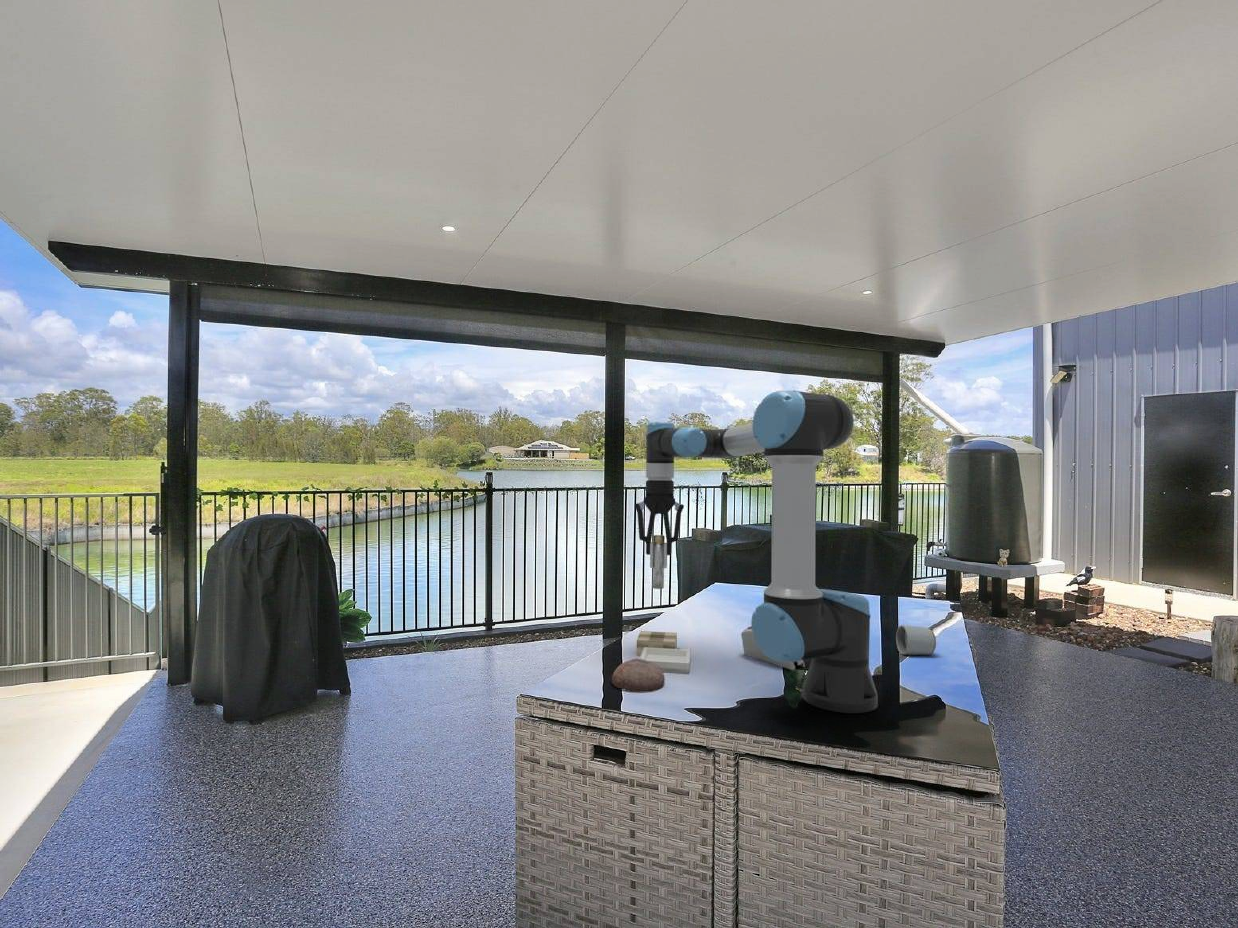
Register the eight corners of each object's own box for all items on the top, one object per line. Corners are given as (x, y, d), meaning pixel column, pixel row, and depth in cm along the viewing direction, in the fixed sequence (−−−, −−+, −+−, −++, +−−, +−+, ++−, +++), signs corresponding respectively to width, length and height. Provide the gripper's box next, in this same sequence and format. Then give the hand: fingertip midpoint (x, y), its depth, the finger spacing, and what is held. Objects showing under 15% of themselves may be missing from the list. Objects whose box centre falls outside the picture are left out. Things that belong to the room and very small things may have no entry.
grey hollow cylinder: (938, 658, 173) (938, 628, 173) (907, 657, 173) (907, 628, 173) (919, 648, 184) (919, 620, 184) (890, 647, 183) (890, 620, 184)
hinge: (806, 666, 163) (797, 630, 161) (793, 676, 160) (784, 639, 159) (757, 651, 177) (748, 617, 175) (745, 659, 174) (736, 625, 173)
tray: (689, 673, 156) (689, 663, 156) (639, 670, 157) (639, 660, 157) (690, 659, 168) (690, 649, 168) (643, 656, 169) (643, 647, 169)
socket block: (674, 657, 169) (675, 642, 169) (636, 655, 171) (636, 640, 171) (676, 647, 179) (676, 632, 179) (640, 645, 180) (640, 630, 181)
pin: (663, 589, 173) (664, 536, 174) (652, 588, 174) (652, 535, 174) (664, 587, 176) (664, 535, 177) (653, 586, 177) (653, 534, 177)
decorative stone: (621, 674, 156) (621, 651, 156) (670, 680, 152) (670, 656, 152) (603, 689, 144) (604, 664, 145) (656, 696, 140) (656, 670, 141)
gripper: (690, 479, 178) (688, 566, 178) (631, 478, 180) (630, 564, 180) (689, 480, 171) (688, 570, 170) (628, 479, 173) (627, 568, 172)
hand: (658, 567), depth 175 cm, fingers closed on pin, 3 cm apart
